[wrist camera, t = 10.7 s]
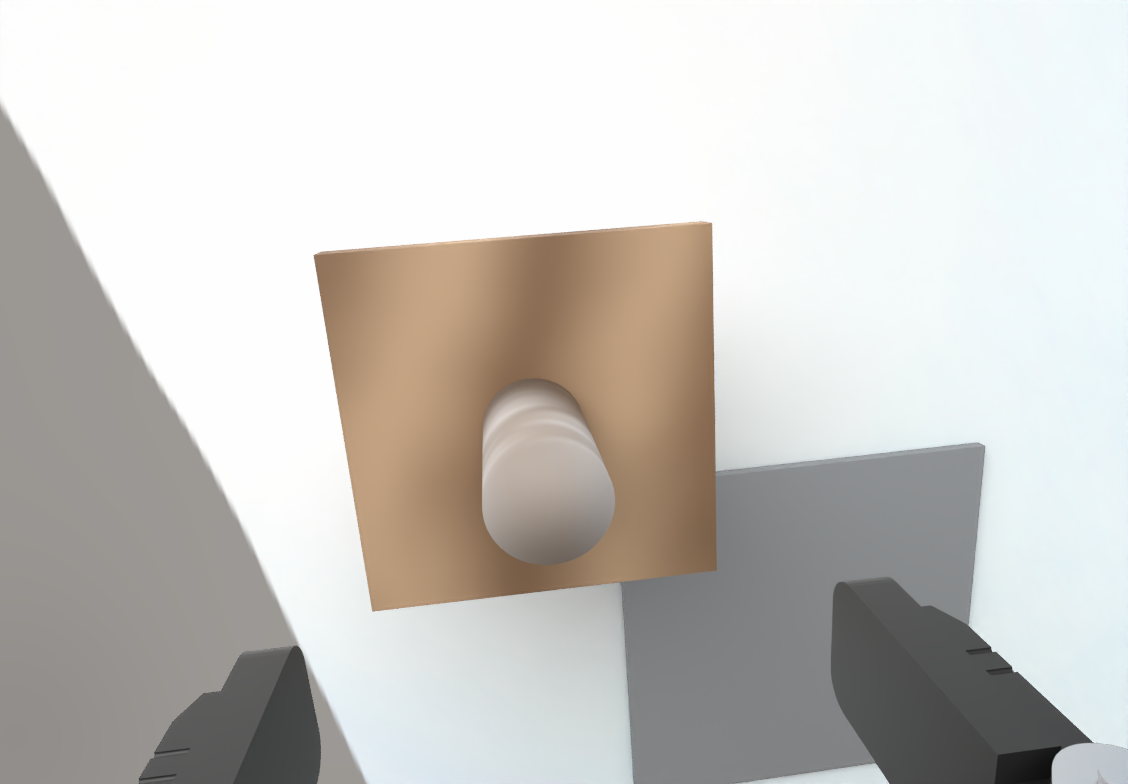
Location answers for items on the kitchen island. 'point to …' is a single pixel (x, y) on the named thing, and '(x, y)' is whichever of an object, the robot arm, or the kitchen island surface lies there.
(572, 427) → the lid
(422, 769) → the kitchen island surface
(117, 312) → the kitchen island surface
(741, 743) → the mat
